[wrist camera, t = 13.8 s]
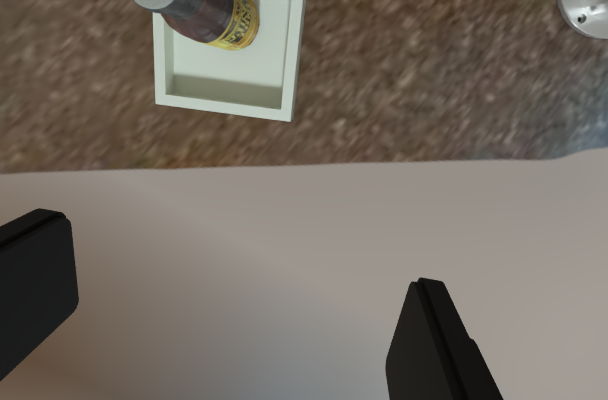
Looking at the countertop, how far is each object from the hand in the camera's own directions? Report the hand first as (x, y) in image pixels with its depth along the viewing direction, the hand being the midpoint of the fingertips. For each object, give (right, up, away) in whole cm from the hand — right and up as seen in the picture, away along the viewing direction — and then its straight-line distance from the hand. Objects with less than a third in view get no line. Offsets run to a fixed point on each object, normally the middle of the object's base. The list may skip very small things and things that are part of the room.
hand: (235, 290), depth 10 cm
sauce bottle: (-6, +23, +31) cm, 39 cm away
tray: (-6, +23, +32) cm, 40 cm away
